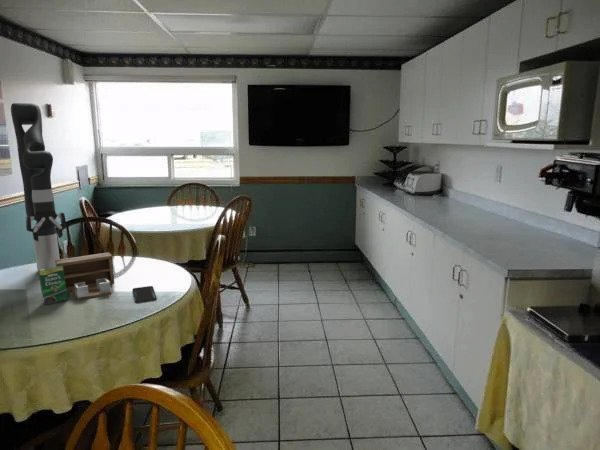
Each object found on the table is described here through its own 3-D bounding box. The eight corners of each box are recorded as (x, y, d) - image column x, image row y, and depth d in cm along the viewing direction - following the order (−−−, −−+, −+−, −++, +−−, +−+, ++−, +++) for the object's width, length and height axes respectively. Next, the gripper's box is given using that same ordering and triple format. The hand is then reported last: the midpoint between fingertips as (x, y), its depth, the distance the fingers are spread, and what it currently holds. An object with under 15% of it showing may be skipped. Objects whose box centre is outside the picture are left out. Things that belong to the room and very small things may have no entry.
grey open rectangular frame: (74, 293, 167) (73, 283, 167) (106, 287, 174) (106, 277, 173) (77, 298, 162) (76, 288, 162) (110, 291, 169) (109, 282, 168)
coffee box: (43, 305, 157) (38, 271, 155) (42, 303, 160) (37, 269, 157) (67, 300, 162) (64, 267, 159) (66, 298, 164) (62, 265, 162)
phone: (152, 285, 176) (156, 298, 163) (152, 288, 176) (157, 301, 163) (131, 288, 173) (134, 301, 160) (132, 291, 173) (134, 304, 160)
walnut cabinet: (58, 288, 175) (55, 260, 172) (111, 279, 186) (108, 252, 184) (65, 302, 160) (62, 271, 157) (122, 291, 171) (119, 262, 169)
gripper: (59, 198, 185) (64, 235, 187) (21, 201, 175) (26, 241, 177) (65, 199, 179) (70, 237, 182) (25, 202, 169) (31, 243, 172)
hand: (48, 239), depth 180 cm, fingers open, 8 cm apart
